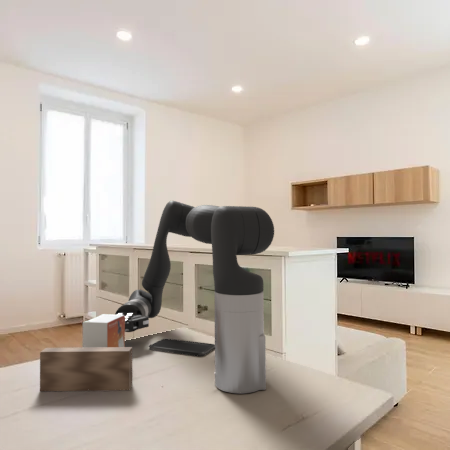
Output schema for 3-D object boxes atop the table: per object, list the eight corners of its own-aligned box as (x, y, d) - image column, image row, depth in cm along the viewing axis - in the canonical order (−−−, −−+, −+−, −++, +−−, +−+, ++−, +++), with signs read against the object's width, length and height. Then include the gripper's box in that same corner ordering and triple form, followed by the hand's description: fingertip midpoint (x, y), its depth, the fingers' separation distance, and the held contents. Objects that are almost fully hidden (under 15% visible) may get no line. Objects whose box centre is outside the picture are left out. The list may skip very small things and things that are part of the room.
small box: (106, 376, 73) (107, 322, 74) (81, 374, 75) (81, 321, 75) (125, 362, 81) (125, 314, 82) (102, 360, 82) (102, 313, 83)
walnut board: (132, 384, 69) (132, 347, 69) (129, 390, 67) (129, 351, 67) (46, 385, 69) (46, 347, 69) (39, 391, 66) (40, 351, 67)
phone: (202, 353, 85) (147, 346, 90) (202, 358, 84) (147, 350, 90) (216, 344, 92) (164, 337, 98) (216, 348, 92) (164, 342, 98)
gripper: (108, 301, 102) (85, 314, 85) (156, 300, 102) (143, 314, 85) (108, 328, 102) (85, 347, 85) (156, 328, 102) (143, 347, 85)
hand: (114, 330), depth 85 cm, fingers closed
